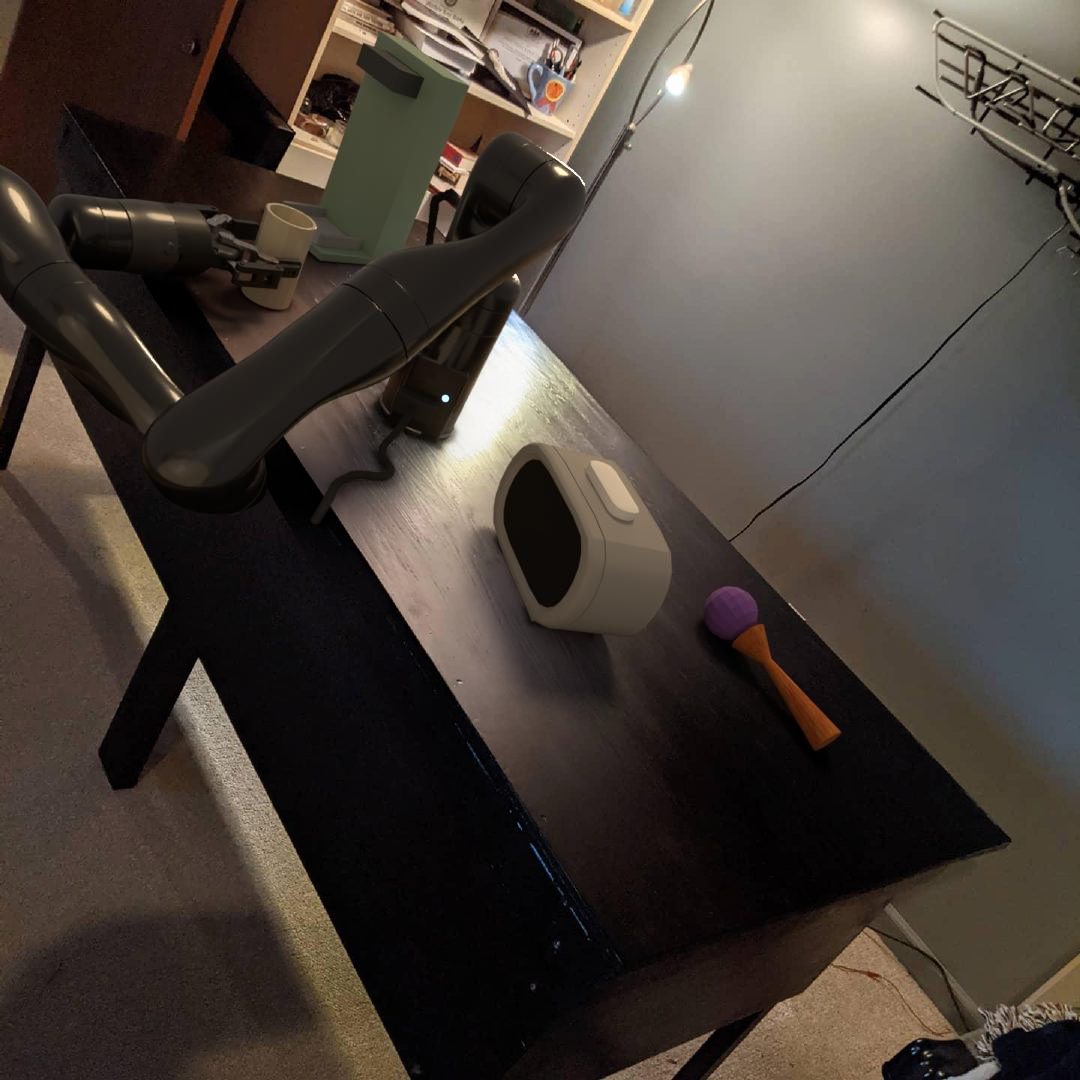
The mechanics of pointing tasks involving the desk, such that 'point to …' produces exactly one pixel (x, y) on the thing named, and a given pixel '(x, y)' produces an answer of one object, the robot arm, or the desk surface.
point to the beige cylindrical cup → (281, 250)
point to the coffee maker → (385, 153)
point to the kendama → (764, 657)
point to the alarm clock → (580, 542)
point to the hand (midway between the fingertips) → (277, 249)
